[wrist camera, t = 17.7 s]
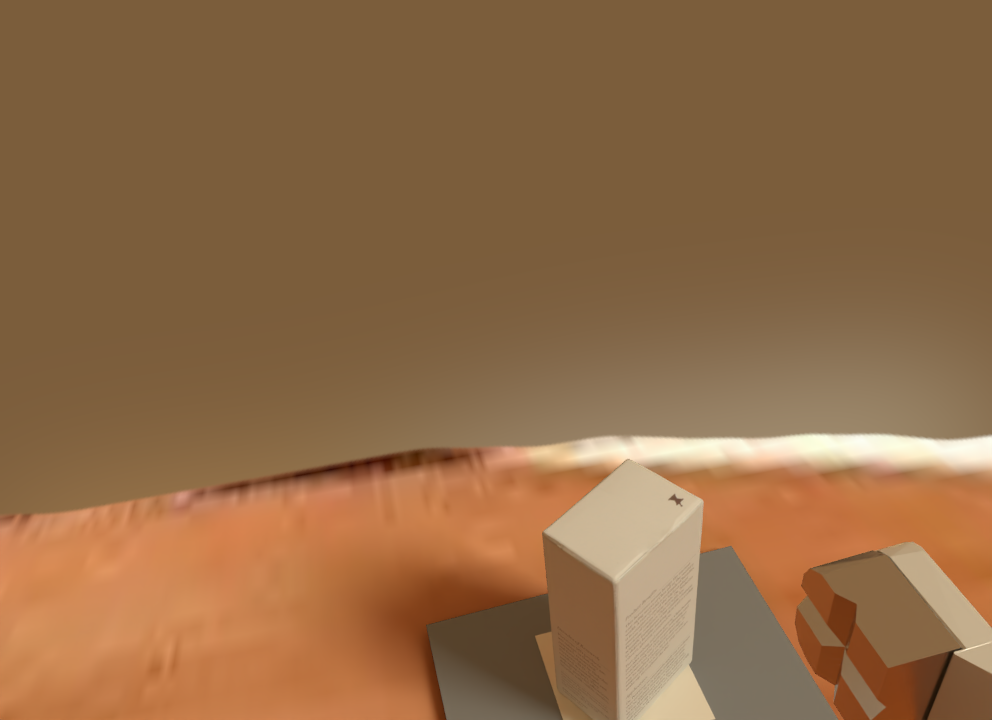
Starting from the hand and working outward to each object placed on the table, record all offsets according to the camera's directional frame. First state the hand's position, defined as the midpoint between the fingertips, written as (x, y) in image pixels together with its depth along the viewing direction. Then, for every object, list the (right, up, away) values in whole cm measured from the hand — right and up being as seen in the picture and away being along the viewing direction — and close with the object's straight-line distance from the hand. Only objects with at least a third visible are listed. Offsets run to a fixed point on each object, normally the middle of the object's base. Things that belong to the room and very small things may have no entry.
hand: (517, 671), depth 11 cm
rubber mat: (+6, -12, +33) cm, 35 cm away
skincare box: (+6, -12, +32) cm, 35 cm away
